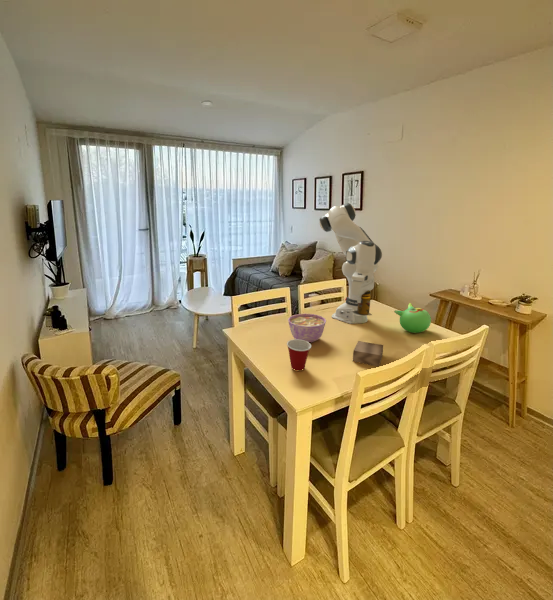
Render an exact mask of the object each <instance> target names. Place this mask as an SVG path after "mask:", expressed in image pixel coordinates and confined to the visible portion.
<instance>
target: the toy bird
mask: <svg viewBox="0 0 553 600" xmlns="http://www.w3.org/2000/svg"><path fill="white" fill-rule="evenodd" d="M393 311H394V313H395V314H396V315H398V317H399V325H400V326H401V328H402V329H404V330H405V331H406V332H408V333H412V334H413V333H414V334H417V333H422V332H424V331H427V330H428V329H429V327H430V326H431V323H432V318H431V315H430V314H429V312H428V311H427V310H426V309H424V308H420V307H414V306H413V305H412V303H411V302H409V303H408V306H407V308H406V309H405V310H397V309H395V310H393Z"/></svg>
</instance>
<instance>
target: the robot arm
mask: <svg viewBox="0 0 553 600" xmlns="http://www.w3.org/2000/svg"><path fill="white" fill-rule="evenodd" d="M356 215H357V214H356V209H355V207H354V206H353V205H352V204H351V203H349V202H347V203H343V204H341V205H340V206H339V205H334V206H332V207H330V209H329V210H328V212H327V213H325V214H323V215H321V216H320V217H319V226H320V228H321V229H322V230H323V231H324V232H326V233H328V232H331V231H332V232H333V233H334V234H335V238H336V240H337V242H338V246H339V247H340V249H341V251H342V253H343V255H344V256H345V260H346V261H344V262H343V264H342V265H341V271H342V274H343V276H345V277H346V279H347V281H348V282H347V283H348V295H347V297H345V298H344V302H343V303H342V304H340V305H339V306H338V307H337V308H336V309H335V312H334V313H332V314H331V318H332V319H335V320H337V321H341V322H343V323H347V324H351V325H353V324H365V323H367V322H368V321H369V319H368V315H366V316H356V315H355V314H353V313H352V312H351V311H357V308H358V303H361V302H362V299H361V296H362V294H364V293H365V292H367V291H368V290H369V291H370V292H371V291H372V290H373V289H374V287H375V276H374V275H375V272H376V271H377V270H378V267H379V265H378V263H379V262H380V260H381V259H382V257H383V251H382V250H381V248H380V247H379V246H378V245H377V244H376V243H375V242H374V241H373V240H372V239H371V238H370V236H369V235H368V234H367V232H366V231H365V230H364V229H363V228H362V227H361V226H360V225H358V224H357V223H355V222H354V221H355V219H356Z"/></svg>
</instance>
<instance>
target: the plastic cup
mask: <svg viewBox="0 0 553 600" xmlns="http://www.w3.org/2000/svg"><path fill="white" fill-rule="evenodd" d="M286 346H287V349H288V354H289V360H290V361H289V362H290V366H291V369H292V368H293V369H295V370H302V369H304V370H305V367H306V363H307V361H308V360H307V359H308V355H309V351H310V349H312V344H311V343H309V342H307V341H304V340H299V339H295V338H294V339H290V340H288V341H287V342H286ZM293 369H292V370H293Z"/></svg>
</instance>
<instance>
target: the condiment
mask: <svg viewBox="0 0 553 600" xmlns="http://www.w3.org/2000/svg"><path fill="white" fill-rule="evenodd" d="M371 298H372V297H371V290H370V291H369V290H368V291H367V292H365V293H364V294H362V296H361V299H362V302H361V303H358V308H357V311H351V312H352V313H353V314H355V315H356V316H366V315H367V316H373V313H370V310H371V309H370V308H371Z"/></svg>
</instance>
